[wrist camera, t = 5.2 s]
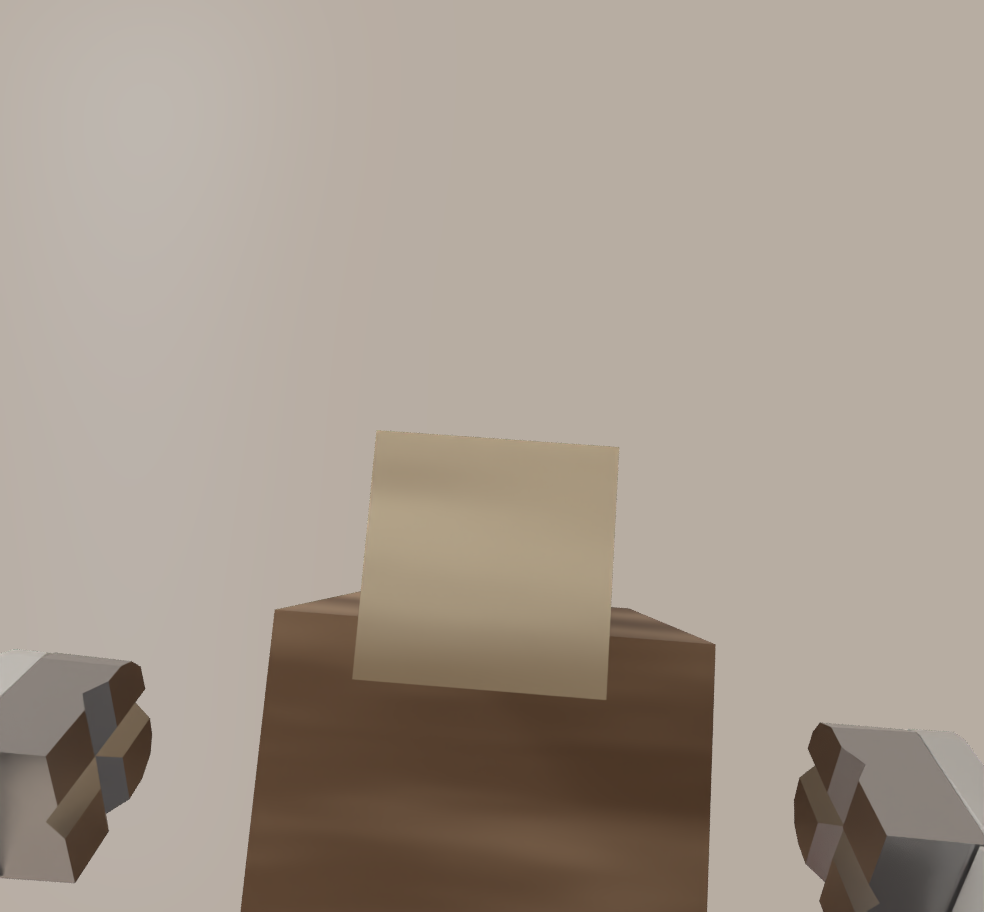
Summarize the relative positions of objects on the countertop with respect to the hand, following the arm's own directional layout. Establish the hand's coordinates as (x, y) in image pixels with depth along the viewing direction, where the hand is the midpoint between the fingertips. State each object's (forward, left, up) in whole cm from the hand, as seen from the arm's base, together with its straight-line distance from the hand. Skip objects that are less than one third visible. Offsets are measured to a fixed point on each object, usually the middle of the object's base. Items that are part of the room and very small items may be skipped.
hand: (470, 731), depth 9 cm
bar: (+5, +8, +1) cm, 10 cm away
